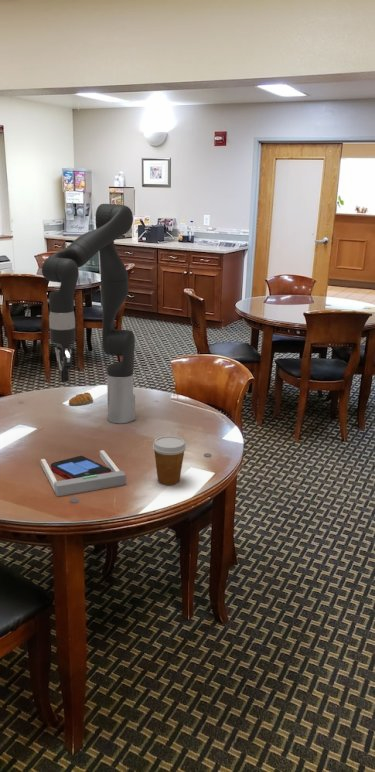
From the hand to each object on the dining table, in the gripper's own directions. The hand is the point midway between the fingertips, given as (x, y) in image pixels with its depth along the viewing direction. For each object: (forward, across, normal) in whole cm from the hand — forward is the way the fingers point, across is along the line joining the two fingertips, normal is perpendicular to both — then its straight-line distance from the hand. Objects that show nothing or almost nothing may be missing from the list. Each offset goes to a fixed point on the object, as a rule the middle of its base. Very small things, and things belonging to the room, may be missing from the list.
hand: (64, 381), depth 183 cm
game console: (+23, -16, 0) cm, 28 cm away
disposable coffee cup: (+23, -32, -21) cm, 45 cm away
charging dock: (+23, -19, +1) cm, 30 cm away
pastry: (+24, +43, -16) cm, 52 cm away
